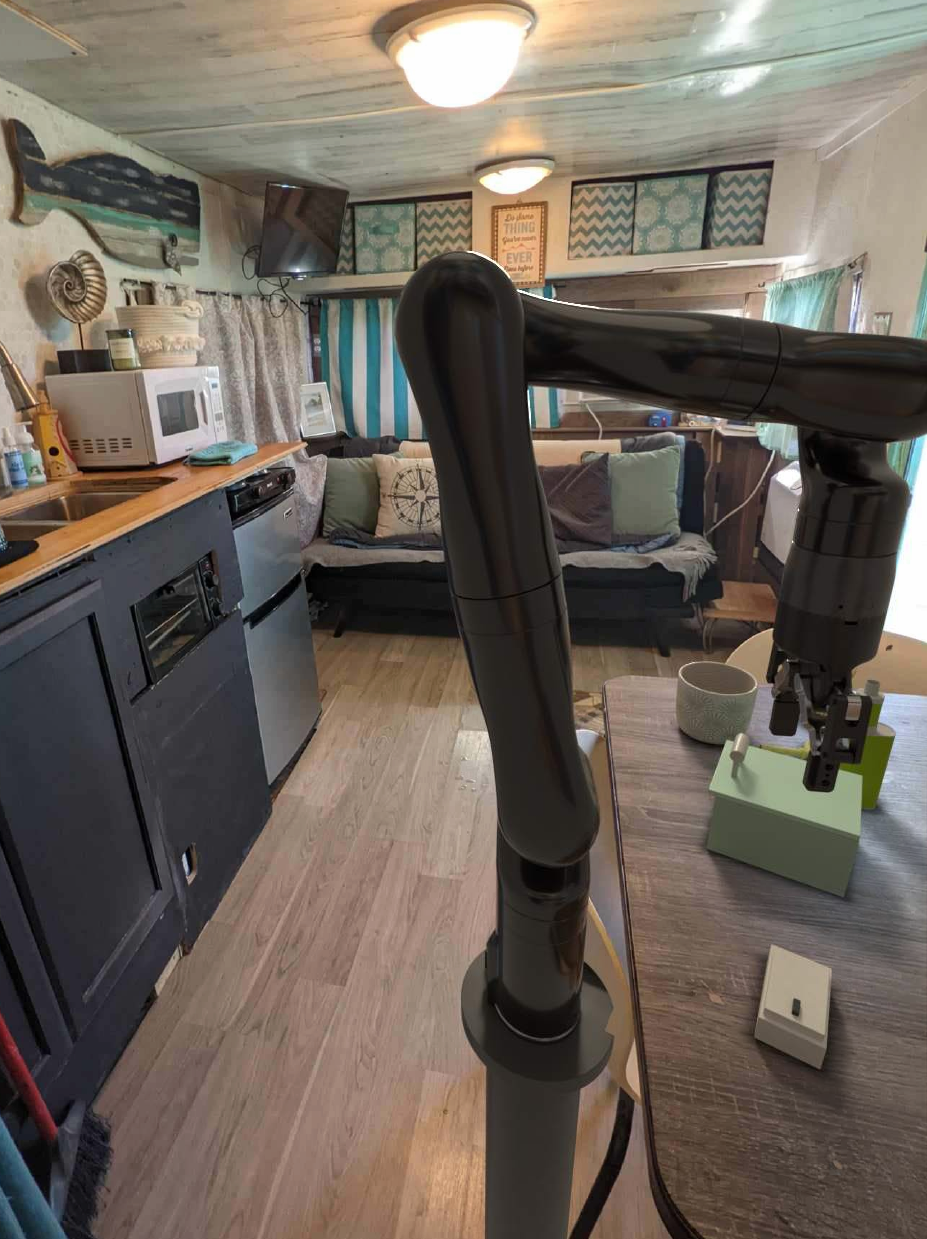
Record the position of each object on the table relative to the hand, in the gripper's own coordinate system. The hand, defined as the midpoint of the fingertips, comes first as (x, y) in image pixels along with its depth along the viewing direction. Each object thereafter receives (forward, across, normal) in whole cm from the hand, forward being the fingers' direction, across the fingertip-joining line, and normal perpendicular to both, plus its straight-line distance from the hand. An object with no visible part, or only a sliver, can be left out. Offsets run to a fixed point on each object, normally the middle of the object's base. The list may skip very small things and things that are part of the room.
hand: (798, 760), depth 59 cm
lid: (+20, -24, +10) cm, 33 cm away
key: (+30, -44, +20) cm, 57 cm away
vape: (+30, -34, +24) cm, 51 cm away
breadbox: (+29, -24, +10) cm, 39 cm away
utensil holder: (+30, -56, +27) cm, 69 cm away
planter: (+29, -51, +8) cm, 59 cm away
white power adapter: (+29, +3, +3) cm, 29 cm away
